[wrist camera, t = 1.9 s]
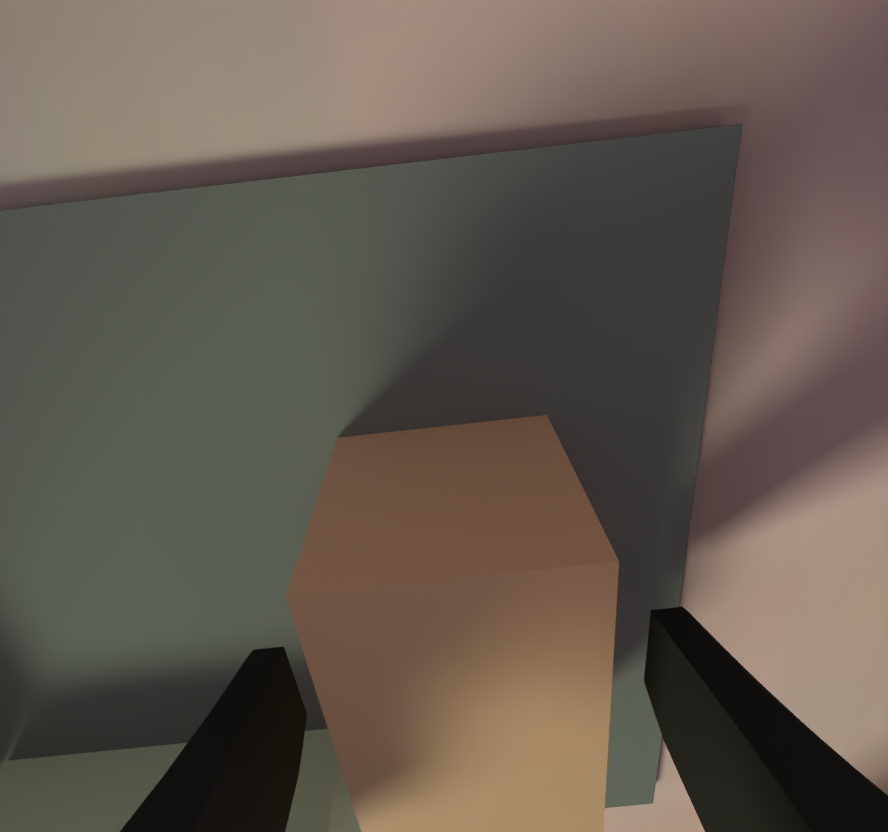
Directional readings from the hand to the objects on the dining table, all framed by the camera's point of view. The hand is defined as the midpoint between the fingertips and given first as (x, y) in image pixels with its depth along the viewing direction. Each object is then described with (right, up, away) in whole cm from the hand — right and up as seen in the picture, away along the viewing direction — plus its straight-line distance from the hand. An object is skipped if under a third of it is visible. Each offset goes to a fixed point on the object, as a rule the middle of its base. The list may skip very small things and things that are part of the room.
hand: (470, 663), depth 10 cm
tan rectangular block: (0, +1, +1) cm, 2 cm away
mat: (-8, 0, +2) cm, 8 cm away
